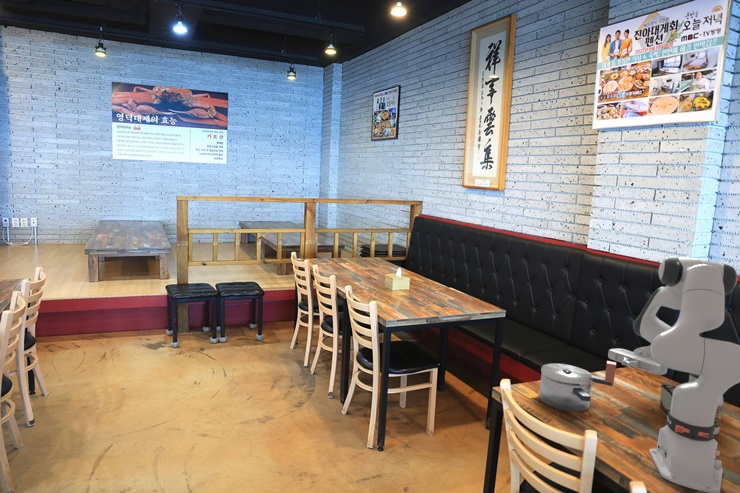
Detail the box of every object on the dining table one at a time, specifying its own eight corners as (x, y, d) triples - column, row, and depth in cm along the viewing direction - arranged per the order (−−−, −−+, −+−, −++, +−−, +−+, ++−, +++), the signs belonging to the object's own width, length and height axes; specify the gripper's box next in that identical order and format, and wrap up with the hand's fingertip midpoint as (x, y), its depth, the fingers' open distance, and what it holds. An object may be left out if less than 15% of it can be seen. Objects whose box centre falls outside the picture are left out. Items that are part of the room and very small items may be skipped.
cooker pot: (530, 388, 197) (533, 364, 196) (573, 390, 198) (576, 366, 197) (558, 419, 171) (562, 392, 170) (608, 421, 172) (612, 394, 171)
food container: (689, 424, 174) (693, 397, 173) (670, 421, 175) (674, 395, 174) (675, 409, 186) (679, 384, 185) (658, 406, 187) (661, 382, 186)
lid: (537, 377, 182) (540, 356, 181) (544, 362, 199) (546, 343, 198) (612, 394, 171) (615, 371, 170) (613, 377, 187) (616, 356, 186)
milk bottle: (686, 425, 173) (695, 371, 170) (703, 423, 175) (711, 370, 173) (707, 436, 166) (716, 380, 163) (724, 434, 168) (733, 378, 165)
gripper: (620, 343, 199) (600, 347, 192) (673, 359, 182) (653, 364, 175) (618, 357, 200) (598, 362, 193) (670, 375, 183) (651, 381, 176)
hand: (625, 363), depth 184 cm, fingers closed
